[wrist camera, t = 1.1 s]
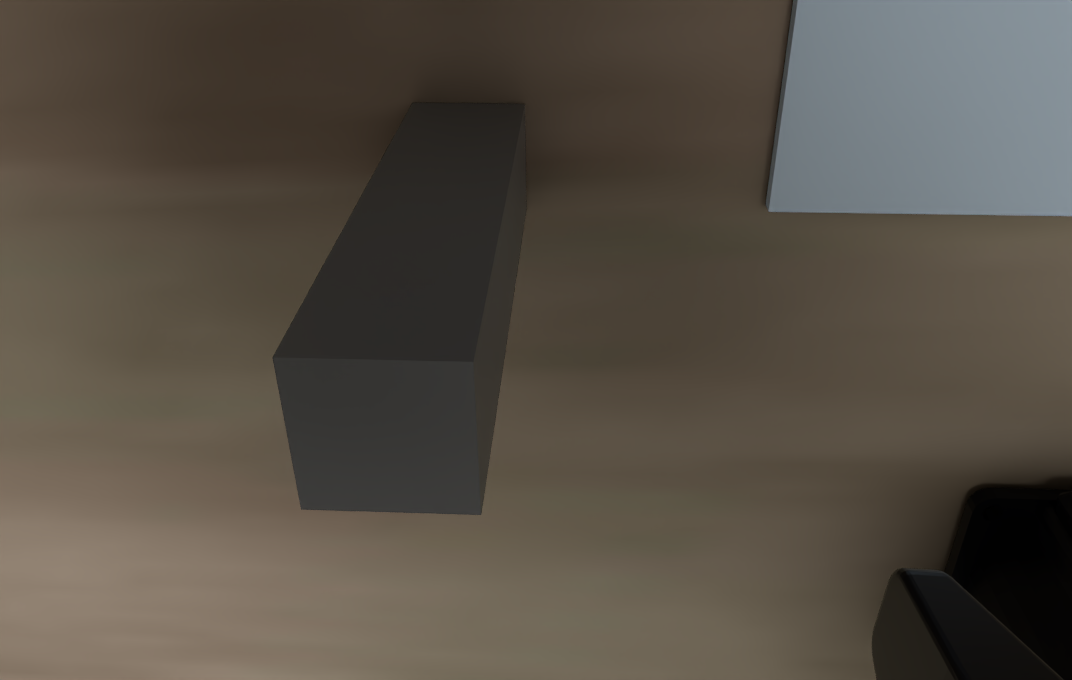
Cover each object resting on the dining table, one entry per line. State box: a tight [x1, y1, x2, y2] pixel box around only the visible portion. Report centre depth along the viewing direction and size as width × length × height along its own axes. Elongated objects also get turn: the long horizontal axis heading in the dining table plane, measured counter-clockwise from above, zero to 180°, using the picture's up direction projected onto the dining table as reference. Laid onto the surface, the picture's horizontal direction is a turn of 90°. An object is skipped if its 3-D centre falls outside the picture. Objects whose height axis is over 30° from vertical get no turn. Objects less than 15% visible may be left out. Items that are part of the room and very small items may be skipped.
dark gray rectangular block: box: [273, 103, 526, 515], centre depth 16 cm, size 2×2×10 cm
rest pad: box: [766, 0, 1072, 216], centre depth 18 cm, size 7×7×1 cm
